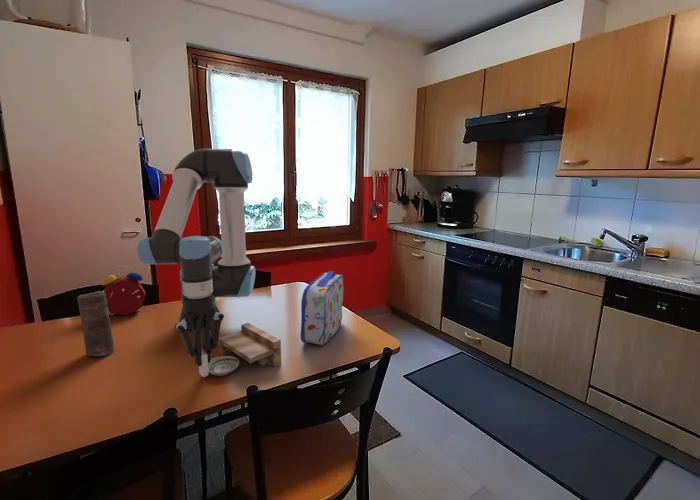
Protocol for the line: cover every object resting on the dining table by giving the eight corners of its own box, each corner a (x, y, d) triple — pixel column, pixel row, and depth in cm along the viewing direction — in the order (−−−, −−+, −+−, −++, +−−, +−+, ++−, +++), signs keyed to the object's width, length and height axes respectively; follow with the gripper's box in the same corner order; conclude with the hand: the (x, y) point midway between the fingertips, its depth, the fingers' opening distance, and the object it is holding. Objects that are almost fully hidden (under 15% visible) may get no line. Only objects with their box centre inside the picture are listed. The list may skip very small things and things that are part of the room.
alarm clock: (146, 307, 155) (141, 261, 151) (147, 314, 148) (142, 266, 144) (104, 313, 147) (98, 265, 143) (103, 321, 140) (97, 271, 136)
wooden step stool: (219, 355, 116) (218, 332, 114) (248, 344, 123) (247, 322, 122) (251, 377, 104) (249, 351, 102) (281, 364, 111) (280, 339, 110)
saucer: (205, 383, 101) (205, 375, 100) (204, 366, 109) (203, 359, 109) (242, 376, 105) (241, 368, 104) (237, 360, 113) (237, 353, 113)
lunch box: (320, 317, 148) (320, 264, 143) (345, 320, 146) (346, 266, 141) (297, 349, 121) (296, 285, 117) (327, 352, 119) (327, 288, 115)
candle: (83, 361, 111) (74, 298, 107) (87, 350, 118) (79, 291, 114) (113, 355, 115) (105, 294, 111) (115, 345, 121) (108, 287, 117)
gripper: (179, 303, 91) (186, 389, 96) (227, 292, 100) (231, 370, 105) (167, 296, 96) (174, 378, 101) (214, 286, 105) (219, 361, 110)
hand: (203, 374), depth 103 cm, fingers closed
